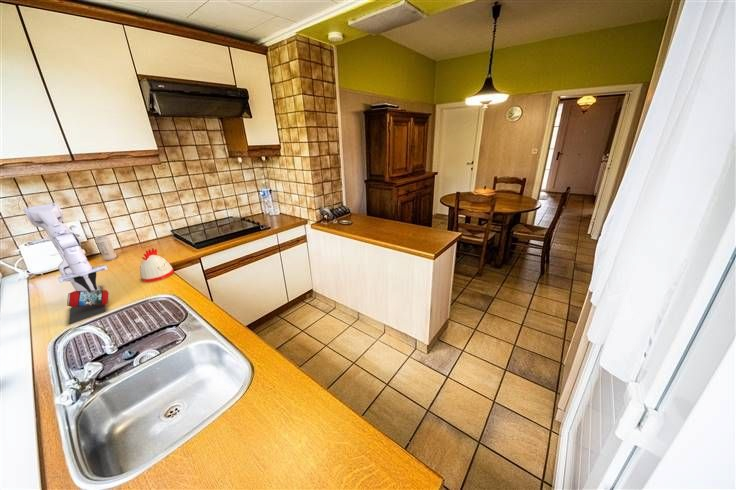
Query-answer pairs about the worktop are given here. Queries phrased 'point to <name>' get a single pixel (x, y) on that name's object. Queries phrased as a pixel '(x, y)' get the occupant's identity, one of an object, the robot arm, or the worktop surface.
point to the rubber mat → (84, 312)
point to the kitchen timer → (154, 267)
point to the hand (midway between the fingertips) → (93, 289)
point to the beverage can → (88, 298)
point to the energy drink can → (105, 248)
